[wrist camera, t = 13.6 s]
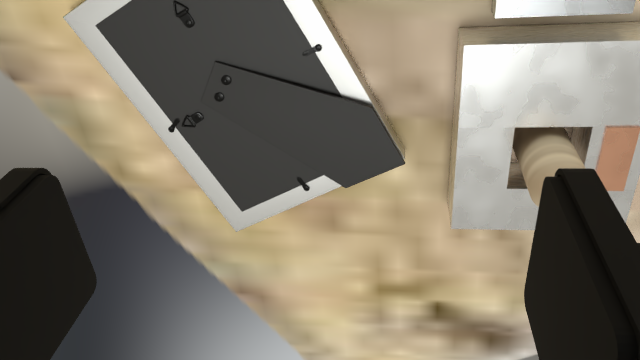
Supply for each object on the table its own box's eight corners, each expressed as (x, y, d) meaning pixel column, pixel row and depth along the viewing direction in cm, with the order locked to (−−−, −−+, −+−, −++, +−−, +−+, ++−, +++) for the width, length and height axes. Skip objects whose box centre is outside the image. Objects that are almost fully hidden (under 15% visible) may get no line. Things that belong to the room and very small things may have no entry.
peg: (513, 112, 39) (533, 162, 33) (566, 111, 38) (596, 163, 32) (507, 155, 41) (525, 211, 35) (558, 155, 40) (585, 211, 34)
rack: (466, -90, 32) (473, -81, 29) (686, -104, 31) (718, -96, 28) (447, 201, 44) (451, 230, 40) (607, 203, 42) (624, 233, 39)
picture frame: (404, 145, 42) (253, -118, 34) (405, 164, 40) (242, -114, 31) (242, 217, 48) (77, 8, 39) (234, 237, 46) (56, 20, 37)
